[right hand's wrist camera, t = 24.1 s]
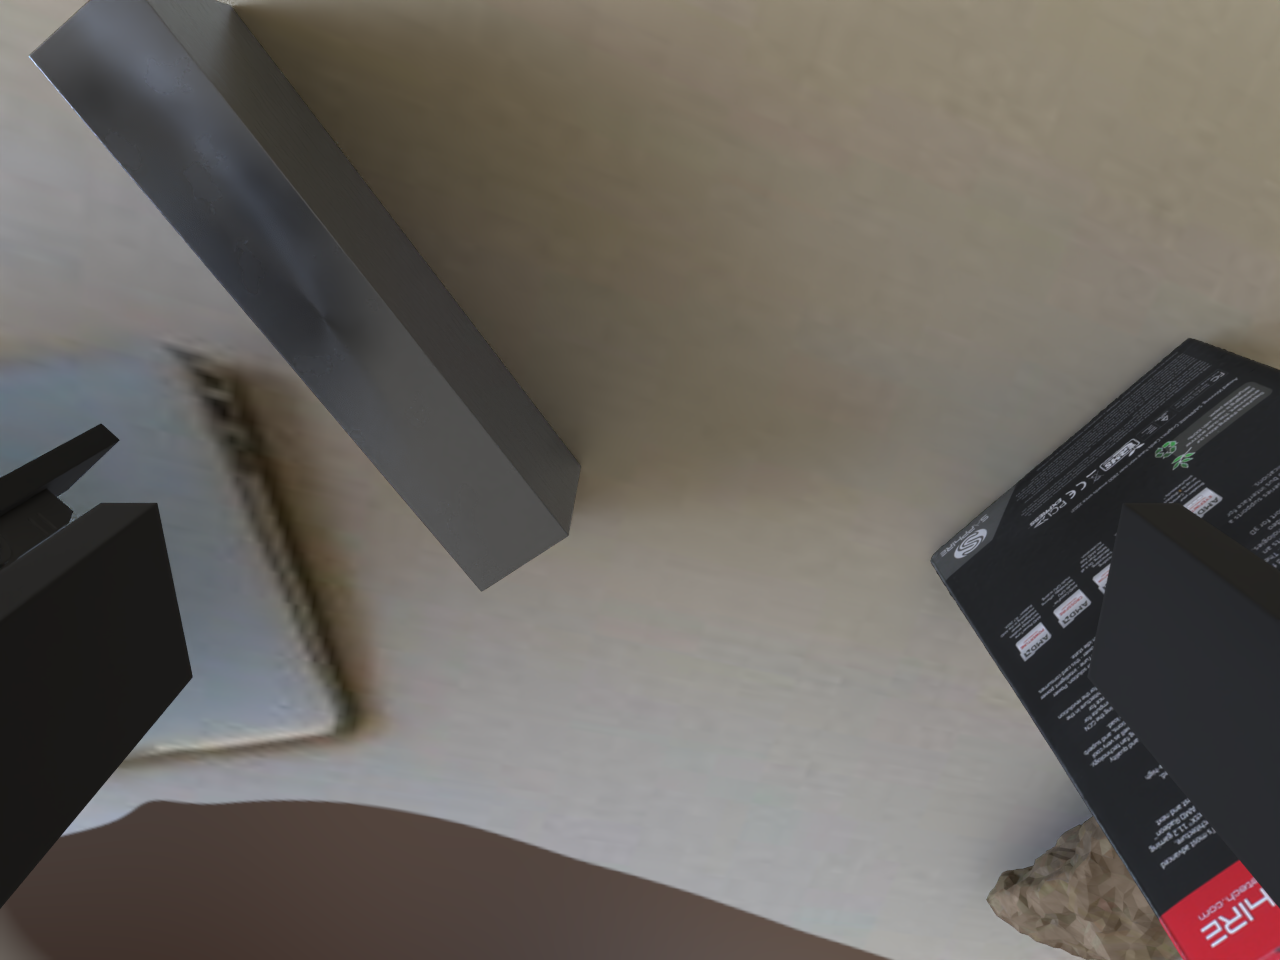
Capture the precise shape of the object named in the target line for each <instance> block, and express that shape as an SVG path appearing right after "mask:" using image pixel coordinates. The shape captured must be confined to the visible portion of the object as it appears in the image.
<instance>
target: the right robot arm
mask: <svg viewBox="0 0 1280 960" xmlns="http://www.w3.org/2000/svg"><path fill="white" fill-rule="evenodd" d="M192 677H193V676H192V671H191V666H190V661H189V656H188V651H187V646H186V641H185V637H184V632H183V627H182V622H181V617H180V612H179V607H178V602H177V597H176V592H175V588H174V583H173V578H172V573H171V568H170V563H169V558H168V553H167V548H166V543H165V539H164V534H163V529H162V524H161V519H160V514H159V509H158V504H157V503H100V504H99V505H97V506H96V507H94V508H93V509H91V510H90V511H88V512H87V513H85V514H84V515H82V516H81V517H80V518H78V519H77V520H75V521H74V522H72V523H71V524H69V525H68V526H66V527H65V528H63V529H62V530H60V531H59V532H57V533H56V534H54V535H53V536H51V537H50V538H48V539H47V540H45V541H44V542H42V543H41V544H40V545H38V546H37V547H35V548H34V549H32V550H31V551H29V552H28V553H26V554H25V555H23V556H22V557H20V558H19V559H17V560H16V561H14V562H13V563H11V564H10V565H8V566H7V567H5V568H4V569H2V570H1V571H0V908H1V907H2V906H3V905H4V904H5V902H6V901H7V900H8V899H9V898H10V896H11V895H12V894H13V893H14V891H15V890H16V889H17V888H18V887H19V885H20V884H21V883H22V882H23V881H24V879H25V878H26V877H27V876H28V875H29V873H30V872H31V871H32V870H33V869H34V867H35V866H36V865H37V864H38V863H39V861H40V860H41V859H42V858H43V857H44V855H45V854H46V853H47V852H48V851H49V849H50V848H51V847H52V846H53V845H54V843H55V842H56V841H57V840H58V839H59V837H60V836H61V835H62V834H63V833H64V831H65V830H66V829H67V828H68V827H69V825H70V824H71V823H72V822H73V821H74V819H75V818H76V817H77V816H78V815H79V813H80V812H81V811H82V810H83V809H84V807H85V806H86V805H87V804H88V803H89V801H90V800H91V799H92V798H93V797H94V795H95V794H96V793H97V792H98V791H99V789H100V788H101V787H102V786H103V784H104V783H105V782H106V781H107V780H108V778H109V777H110V776H111V775H112V774H113V772H114V771H115V770H116V769H117V768H118V766H119V765H120V764H121V763H122V762H123V760H124V759H125V758H126V757H127V756H128V754H129V753H130V752H131V751H132V750H133V748H134V747H135V746H136V745H137V744H138V742H139V741H140V740H141V739H142V738H143V736H144V735H145V734H146V733H147V732H148V730H149V729H150V728H151V727H152V726H153V724H154V723H155V722H156V721H157V720H158V718H159V717H160V716H161V715H162V714H163V712H164V711H165V710H166V709H167V708H168V706H169V705H170V704H171V703H172V702H173V700H174V699H175V698H176V697H177V696H178V694H179V693H180V692H181V691H182V689H183V688H184V687H185V686H186V685H187V683H188V682H189V681H190V680H191V679H192ZM1087 677H1088V679H1089V680H1090V681H1091V682H1092V683H1093V685H1094V686H1095V687H1096V688H1097V689H1098V691H1099V692H1100V693H1101V694H1102V696H1103V697H1104V698H1105V699H1106V700H1107V702H1108V703H1109V704H1110V705H1111V706H1112V708H1113V709H1114V710H1115V711H1116V712H1117V714H1118V715H1119V716H1120V717H1121V718H1122V720H1123V721H1124V722H1125V723H1126V724H1127V726H1128V727H1129V728H1130V729H1131V730H1132V732H1133V733H1134V734H1135V735H1136V736H1137V738H1138V739H1139V740H1140V741H1141V742H1142V744H1143V745H1144V746H1145V747H1146V748H1147V750H1148V751H1149V752H1150V753H1151V754H1152V756H1153V757H1154V758H1155V759H1156V760H1157V762H1158V763H1159V764H1160V765H1161V766H1162V768H1163V769H1164V770H1165V771H1166V772H1167V774H1168V775H1169V776H1170V777H1171V778H1172V780H1173V781H1174V782H1175V783H1176V784H1177V786H1178V787H1179V788H1180V789H1181V791H1182V792H1183V793H1184V794H1185V795H1186V797H1187V798H1188V799H1189V800H1190V801H1191V803H1192V804H1193V805H1194V806H1195V807H1196V809H1197V810H1198V811H1199V812H1200V813H1201V815H1202V816H1203V817H1204V818H1205V819H1206V821H1207V822H1208V823H1209V824H1210V825H1211V827H1212V828H1213V829H1214V830H1215V831H1216V833H1217V834H1218V835H1219V836H1220V837H1221V839H1222V840H1223V841H1224V842H1225V843H1226V845H1227V846H1228V847H1229V848H1230V849H1231V851H1232V852H1233V853H1234V854H1235V855H1236V857H1237V858H1238V859H1239V860H1240V861H1241V863H1242V864H1243V865H1244V866H1245V867H1246V869H1247V870H1248V871H1249V872H1250V873H1251V875H1252V876H1253V877H1254V878H1255V879H1256V881H1257V882H1258V883H1259V884H1260V886H1261V887H1262V888H1263V889H1264V890H1265V892H1266V893H1267V894H1268V895H1269V896H1270V898H1271V899H1272V900H1273V901H1274V902H1275V904H1276V905H1277V906H1278V907H1279V908H1280V571H1279V570H1278V569H1276V568H1275V567H1273V566H1272V565H1270V564H1269V563H1267V562H1266V561H1264V560H1263V559H1261V558H1260V557H1258V556H1257V555H1255V554H1254V553H1252V552H1251V551H1249V550H1248V549H1246V548H1245V547H1243V546H1242V545H1240V544H1239V543H1238V542H1236V541H1235V540H1233V539H1232V538H1230V537H1229V536H1227V535H1226V534H1224V533H1223V532H1221V531H1220V530H1218V529H1217V528H1215V527H1214V526H1212V525H1211V524H1209V523H1208V522H1206V521H1205V520H1203V519H1202V518H1200V517H1199V516H1198V515H1196V514H1195V513H1193V512H1192V511H1190V510H1189V509H1187V508H1186V507H1184V506H1183V505H1181V504H1180V503H1123V504H1122V509H1121V514H1120V519H1119V524H1118V529H1117V534H1116V539H1115V543H1114V548H1113V553H1112V558H1111V563H1110V568H1109V573H1108V578H1107V583H1106V588H1105V592H1104V597H1103V602H1102V607H1101V612H1100V617H1099V622H1098V627H1097V632H1096V637H1095V641H1094V646H1093V651H1092V656H1091V661H1090V666H1089V671H1088V676H1087Z"/></svg>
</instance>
